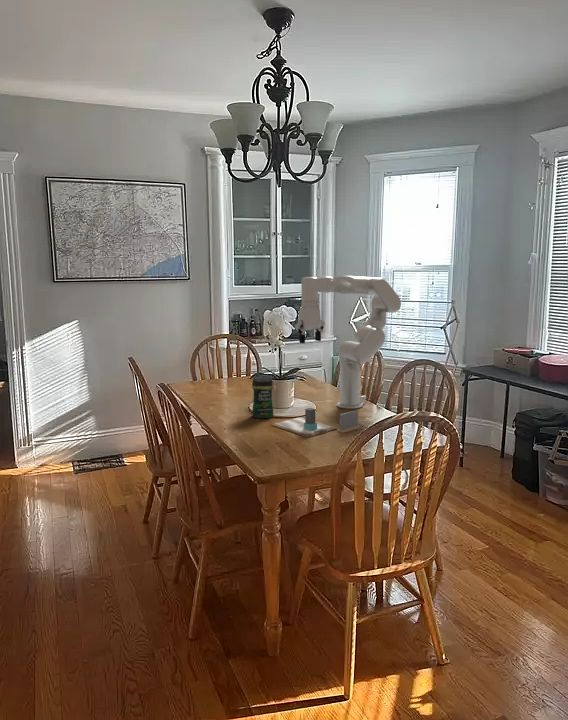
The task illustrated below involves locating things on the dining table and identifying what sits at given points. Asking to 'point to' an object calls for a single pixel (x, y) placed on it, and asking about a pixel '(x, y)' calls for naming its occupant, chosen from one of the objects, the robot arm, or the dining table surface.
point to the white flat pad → (298, 427)
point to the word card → (348, 421)
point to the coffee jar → (262, 397)
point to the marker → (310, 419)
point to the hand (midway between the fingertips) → (310, 341)
